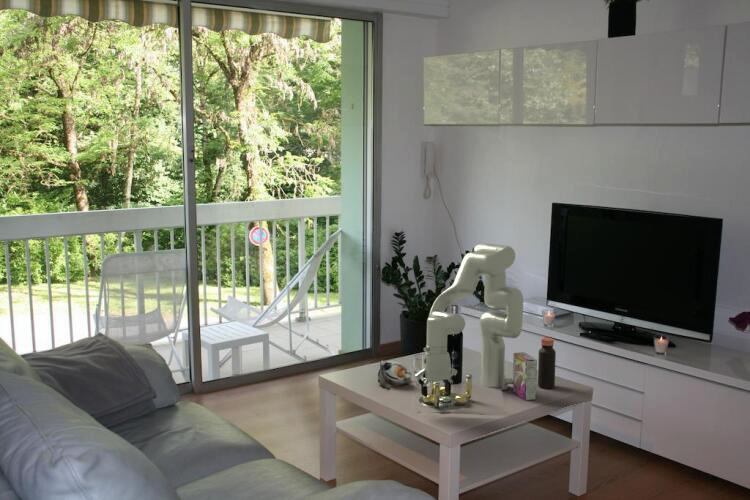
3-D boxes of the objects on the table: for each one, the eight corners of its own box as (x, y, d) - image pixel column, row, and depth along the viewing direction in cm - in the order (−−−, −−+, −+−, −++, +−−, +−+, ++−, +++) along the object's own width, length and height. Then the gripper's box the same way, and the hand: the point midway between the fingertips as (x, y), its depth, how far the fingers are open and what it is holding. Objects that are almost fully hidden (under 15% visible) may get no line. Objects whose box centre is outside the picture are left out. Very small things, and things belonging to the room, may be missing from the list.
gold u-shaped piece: (445, 391, 310) (445, 368, 308) (453, 394, 306) (453, 370, 305) (427, 396, 304) (428, 372, 302) (435, 399, 300) (435, 375, 299)
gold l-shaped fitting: (421, 401, 298) (421, 377, 297) (431, 399, 300) (431, 375, 298) (432, 409, 289) (432, 384, 288) (443, 407, 291) (443, 382, 290)
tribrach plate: (470, 396, 309) (471, 389, 308) (471, 414, 289) (471, 406, 289) (420, 395, 311) (420, 388, 310) (417, 412, 291) (417, 405, 291)
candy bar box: (512, 392, 314) (512, 352, 312) (523, 391, 315) (524, 351, 313) (525, 401, 303) (526, 360, 301) (536, 399, 305) (537, 359, 302)
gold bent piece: (463, 406, 292) (463, 381, 291) (452, 403, 295) (453, 379, 294) (475, 399, 300) (475, 375, 299) (465, 397, 303) (465, 373, 301)
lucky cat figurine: (416, 382, 327) (419, 358, 319) (403, 400, 318) (406, 376, 310) (384, 368, 332) (387, 344, 324) (371, 386, 324) (373, 362, 315)
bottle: (557, 386, 321) (559, 339, 318) (548, 390, 316) (549, 342, 314) (543, 382, 326) (545, 336, 323) (534, 386, 321) (535, 339, 318)
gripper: (420, 354, 281) (419, 400, 284) (462, 349, 288) (461, 394, 291) (411, 349, 288) (410, 394, 290) (452, 344, 295) (451, 388, 297)
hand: (436, 394), depth 290 cm, fingers open, 9 cm apart
